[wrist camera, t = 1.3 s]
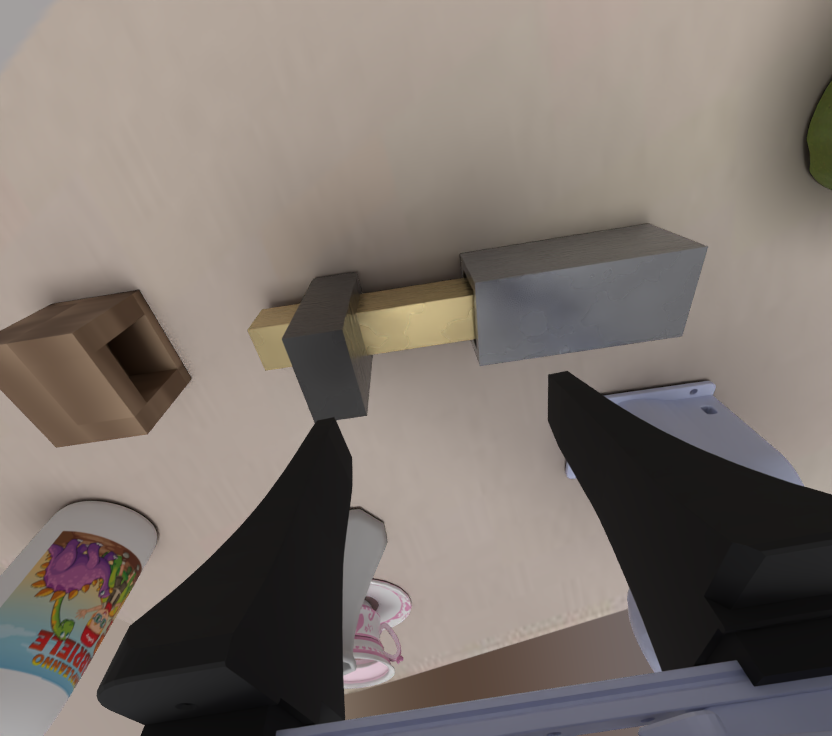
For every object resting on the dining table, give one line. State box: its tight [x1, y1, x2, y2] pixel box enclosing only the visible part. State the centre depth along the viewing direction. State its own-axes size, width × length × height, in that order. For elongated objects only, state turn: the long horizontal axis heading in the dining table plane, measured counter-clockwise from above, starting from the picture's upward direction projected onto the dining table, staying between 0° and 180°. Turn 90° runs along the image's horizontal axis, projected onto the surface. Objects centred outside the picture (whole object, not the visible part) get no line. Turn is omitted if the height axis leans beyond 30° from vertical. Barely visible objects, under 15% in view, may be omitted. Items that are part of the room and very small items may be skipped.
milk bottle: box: [0, 501, 157, 736], centre depth 23 cm, size 8×8×20 cm
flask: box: [342, 509, 387, 676], centre depth 29 cm, size 7×7×10 cm
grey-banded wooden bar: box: [248, 272, 476, 423], centre depth 18 cm, size 20×4×7 cm, turn 98°
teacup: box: [343, 579, 412, 688], centre depth 38 cm, size 12×12×6 cm
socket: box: [0, 290, 191, 447], centre depth 20 cm, size 5×6×5 cm
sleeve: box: [460, 224, 708, 366], centre depth 19 cm, size 10×4×4 cm, turn 98°
